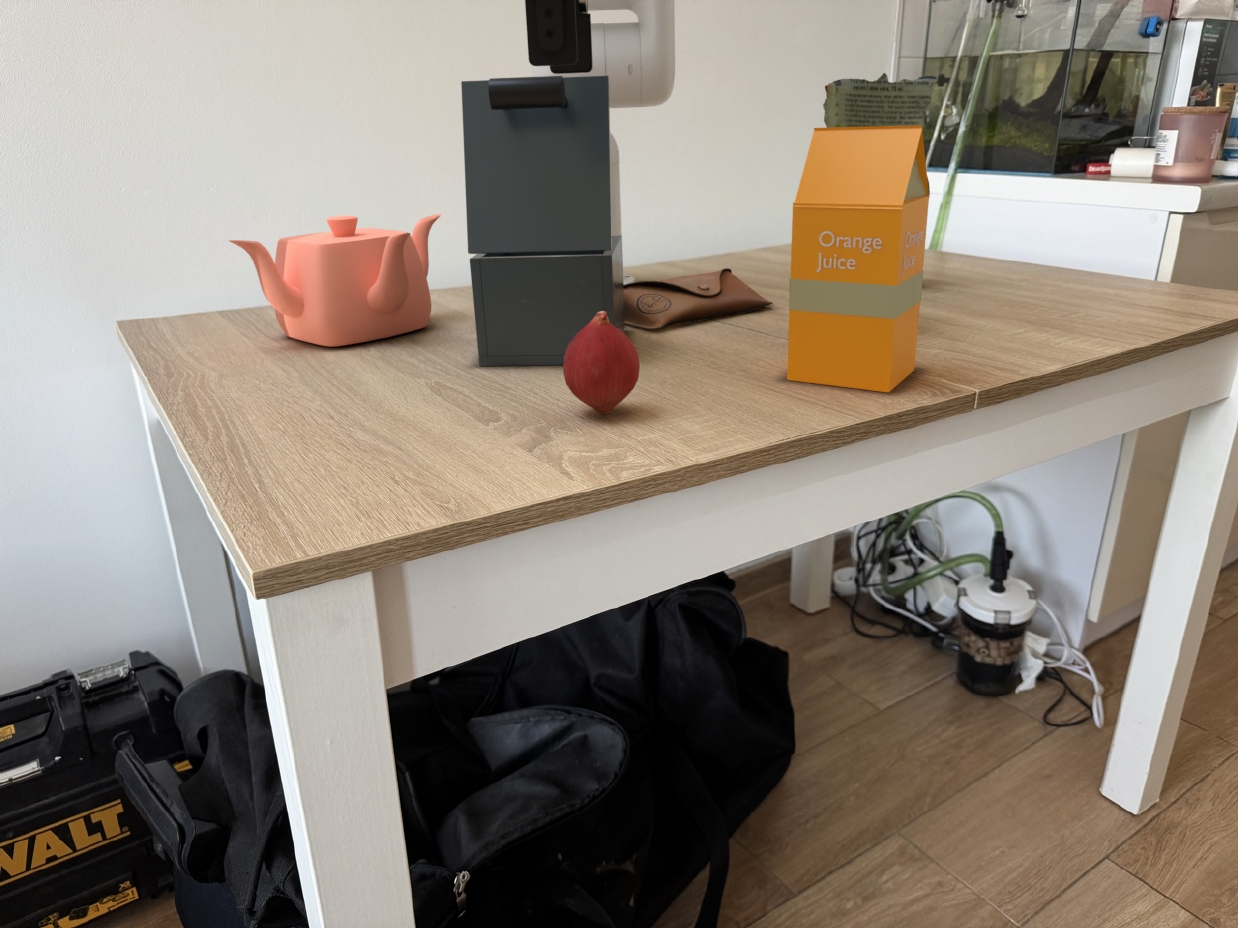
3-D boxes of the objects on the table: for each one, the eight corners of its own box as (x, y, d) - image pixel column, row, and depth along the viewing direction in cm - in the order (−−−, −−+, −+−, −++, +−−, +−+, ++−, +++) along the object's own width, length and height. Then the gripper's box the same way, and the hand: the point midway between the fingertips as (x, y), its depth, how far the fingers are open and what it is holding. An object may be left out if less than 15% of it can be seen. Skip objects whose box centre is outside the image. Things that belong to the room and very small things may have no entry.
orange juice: (889, 393, 73) (909, 127, 66) (785, 380, 77) (793, 129, 70) (915, 369, 79) (936, 124, 72) (818, 358, 84) (829, 126, 76)
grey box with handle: (463, 83, 80) (445, 63, 74) (609, 78, 79) (602, 57, 73) (470, 254, 82) (453, 248, 76) (612, 250, 81) (606, 244, 75)
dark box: (506, 332, 98) (498, 238, 94) (624, 330, 97) (622, 235, 93) (479, 366, 85) (469, 258, 82) (615, 364, 84) (611, 255, 81)
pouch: (809, 290, 114) (819, 74, 105) (845, 275, 123) (857, 75, 114) (897, 298, 108) (915, 69, 99) (928, 281, 117) (947, 70, 108)
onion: (553, 421, 69) (546, 317, 66) (584, 399, 74) (579, 301, 71) (624, 428, 67) (620, 321, 64) (651, 405, 72) (649, 305, 69)
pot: (419, 351, 92) (405, 224, 87) (247, 355, 92) (224, 229, 87) (450, 313, 109) (440, 205, 104) (306, 317, 109) (289, 209, 105)
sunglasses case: (658, 328, 95) (637, 269, 95) (624, 351, 101) (603, 295, 101) (779, 303, 105) (758, 250, 105) (741, 326, 111) (722, 275, 111)
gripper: (515, -174, 67) (530, 77, 73) (460, -269, 51) (485, 64, 57) (616, -181, 67) (624, 73, 73) (593, -278, 50) (605, 59, 56)
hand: (563, 69), depth 65 cm, fingers open, 9 cm apart
